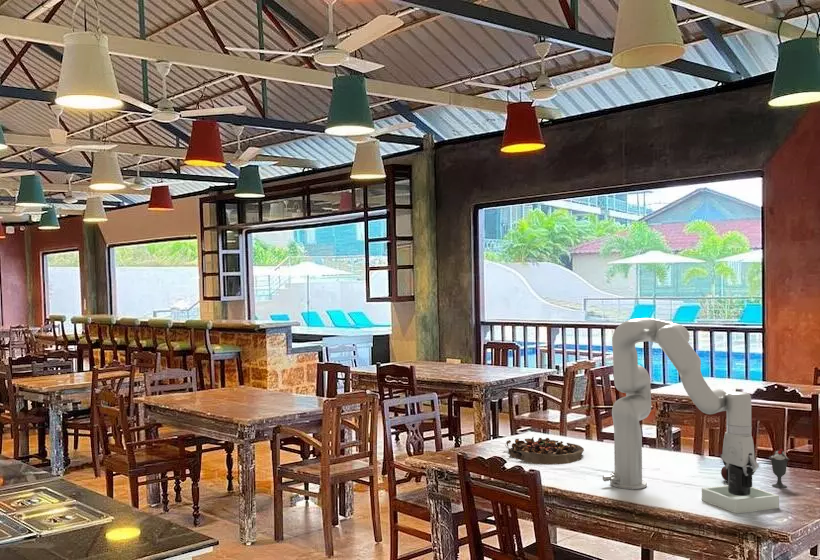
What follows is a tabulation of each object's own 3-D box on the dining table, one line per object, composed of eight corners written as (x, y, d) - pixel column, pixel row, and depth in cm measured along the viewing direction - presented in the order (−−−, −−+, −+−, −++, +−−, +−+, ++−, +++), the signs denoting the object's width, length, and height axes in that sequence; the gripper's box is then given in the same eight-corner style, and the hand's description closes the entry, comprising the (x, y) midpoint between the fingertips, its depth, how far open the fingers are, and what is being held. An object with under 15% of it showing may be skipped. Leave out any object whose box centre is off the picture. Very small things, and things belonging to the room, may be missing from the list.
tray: (736, 513, 248) (736, 500, 248) (701, 500, 263) (701, 488, 263) (779, 508, 253) (779, 495, 253) (743, 495, 268) (743, 483, 268)
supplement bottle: (752, 497, 254) (752, 459, 254) (730, 495, 255) (730, 458, 255) (748, 491, 261) (748, 455, 261) (726, 490, 262) (726, 454, 262)
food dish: (505, 448, 353) (505, 430, 353) (580, 451, 348) (580, 433, 349) (503, 463, 318) (503, 444, 319) (587, 467, 314) (587, 447, 314)
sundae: (781, 489, 275) (781, 446, 275) (765, 485, 281) (764, 443, 281) (794, 487, 278) (793, 444, 278) (777, 483, 284) (777, 441, 284)
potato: (728, 478, 292) (728, 461, 292) (753, 484, 283) (752, 467, 283) (715, 481, 288) (715, 464, 288) (740, 487, 279) (740, 469, 279)
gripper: (711, 426, 265) (711, 479, 265) (749, 435, 249) (749, 492, 249) (729, 424, 268) (729, 477, 268) (768, 434, 251) (768, 490, 251)
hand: (739, 484), depth 258 cm, fingers closed on supplement bottle, 6 cm apart
